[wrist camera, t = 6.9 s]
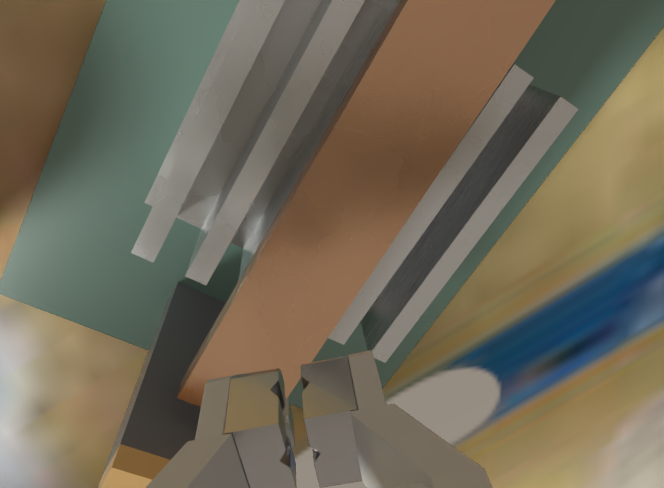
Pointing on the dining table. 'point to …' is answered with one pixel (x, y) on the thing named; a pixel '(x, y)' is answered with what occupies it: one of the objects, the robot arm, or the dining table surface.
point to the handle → (363, 182)
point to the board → (175, 254)
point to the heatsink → (303, 136)
